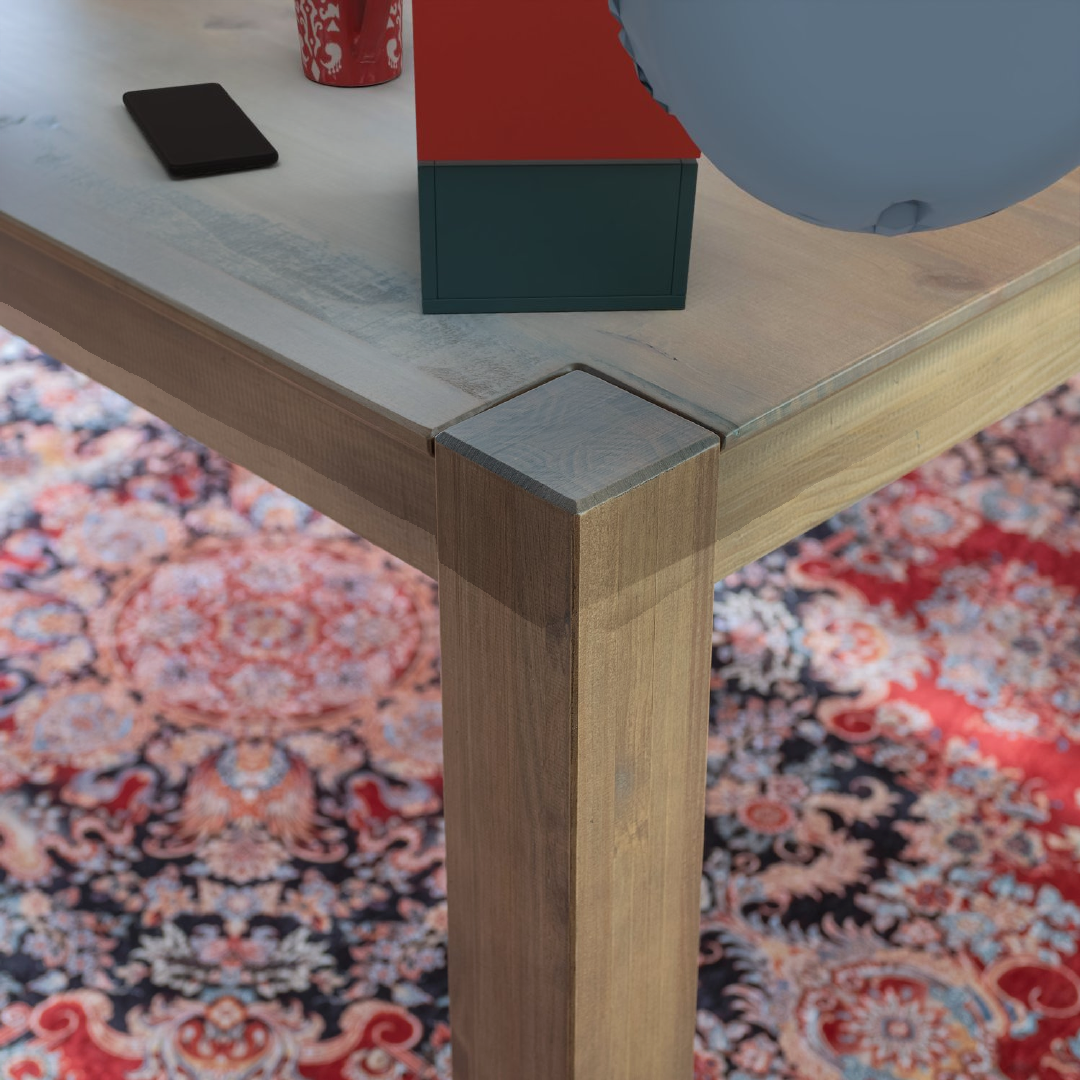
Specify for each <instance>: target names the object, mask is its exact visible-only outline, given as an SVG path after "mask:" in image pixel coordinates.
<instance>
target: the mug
mask: <svg viewBox="0 0 1080 1080" xmlns="http://www.w3.org/2000/svg"><path fill="white" fill-rule="evenodd" d="M293 4H294V11H295V12H294V13H295V18H296V25H297V32H298V39H299V48H300V57H301V65H302V69H303V72H304V73H303V74H304V75H305V77H307V78H308V79H309V80H312V81H314V82H317V83H320V84H323V85H328V86H329V85H330V86H337V87H361V86H371V85H376V84H382V83H386V82H388V81H391V80H394V79H395V78H398V76H400V74H401V73H402V71H403V59H404V52H403V46H404V45H403V15H404V13H403V11H404V2H403V0H293Z"/></svg>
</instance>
